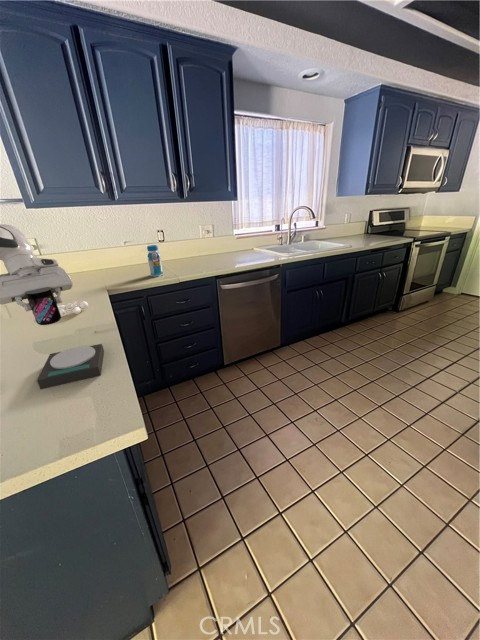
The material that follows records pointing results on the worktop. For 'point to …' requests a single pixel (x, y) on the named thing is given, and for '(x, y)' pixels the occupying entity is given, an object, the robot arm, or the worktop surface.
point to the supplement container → (43, 305)
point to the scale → (71, 365)
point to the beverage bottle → (154, 261)
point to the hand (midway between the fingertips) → (44, 306)
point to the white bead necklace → (70, 305)
